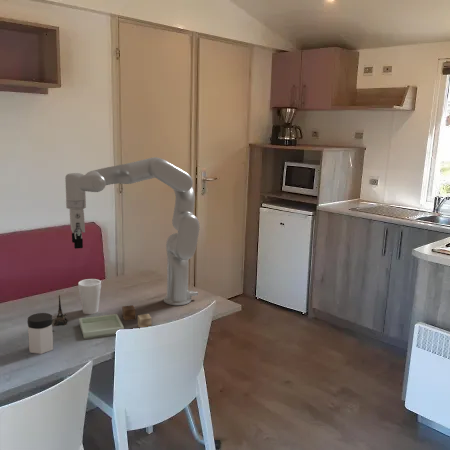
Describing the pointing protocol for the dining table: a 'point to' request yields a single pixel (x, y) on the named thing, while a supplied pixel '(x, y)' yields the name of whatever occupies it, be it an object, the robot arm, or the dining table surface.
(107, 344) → the dining table surface
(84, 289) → the foam cup
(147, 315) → the maple block
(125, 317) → the walnut block
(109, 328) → the tray
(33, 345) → the jar
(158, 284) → the dining table surface
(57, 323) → the eiffel tower figurine
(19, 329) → the dining table surface
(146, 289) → the dining table surface
